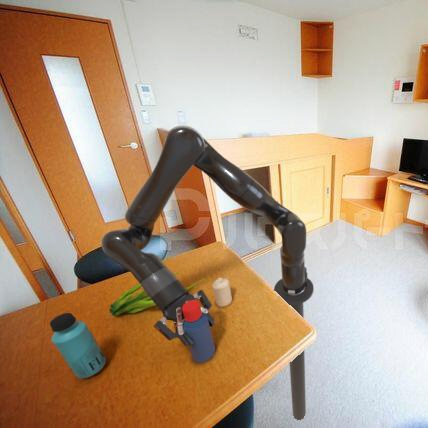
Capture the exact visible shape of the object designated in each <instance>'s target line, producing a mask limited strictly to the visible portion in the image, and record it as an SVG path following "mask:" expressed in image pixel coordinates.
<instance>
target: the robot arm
mask: <svg viewBox="0 0 428 428" xmlns="http://www.w3.org/2000/svg"><path fill="white" fill-rule="evenodd" d="M193 167H195V168H196V169H198V170H200V171H201V172H203V173H204V174H205V175H206V176H207V177H208V178H209V179H211V180H212V182H213V183H214V184H215V185H216V186H217V187H218V188H219V189H220V190H221V191H222V192H223V193H224V194H225V195H226V196H228V197H229V199H231V200H232V201H234V202H235V203H237V204H238V205H239V206H240V207H242V208H243V209H245V210H247V211H249V212H251V213H253V214H256V215H258V216H261V217H263V218H264V219H265V220H267V221H268V222H269V223H270V224H272V225H273V227H274V228H275V229H276V230H277V231H278V233H279V234H280V236H281V247H280V248H279V252H280V253H279V255H280V267H281V279H282V284H283V287H282V288H283V292H284V293H285V294H287V295H289V296H296V295H299V294H301V293H303V292H304V290H305V287H307V278H308V271H307V267H306V265H305V250H306V248H307V227H306V224H305V222H304V221H303V220H302V219H301V218H300V216H298V215H297V214H296V213H294V212H293V211H291V210H290V209H288V208H287V207H285V206H283V205H282V204H281V203H279V202H278V201H277V200H276V199H275V198H274V196H272V195H271V194H270V192H269V191H268V190H266V188H265V187H264V186H263V185H261V184H260V183H259V182H258V181H257V180H256V179H254V178H253V177H252V176H251V175H249V174H248V173H247V172H246V171H244V170H243V169H241V168H240V167H239V166H237V165H236V164H235V163H233V162H231V161H230V160H229V159H227V158H225V157H224V156H223V155H222V154H221V153H220V152H219V151H217V150H216V149H215V148H214V146H212V144H210V142H209V141H208V140H206V138H204V136H203V135H202V134H201V133H200V132H199V131H198V130H197V129H196V128H194V127H192V126H189V125H185V124H184V125H181V124H180V125H176V126H173V127H172V128H171V129H170V130H168V132H167V133H166V134H165V137H164V143H163V147H162V149H161V153H160V156H159V157H158V160H157V162H156V165H155V166H154V168H153V170H152V172H151V174H150V175H149V176H148V178H147V179H146V181H145V182H144V183H143V185H142V186H141V187H140V189H139V190H138V192H137V193H136V195H135V196H134V197H133V200H132V201H131V203H130V204H129V206H128V207H127V209H126V212H125V213H124V220H125V221H126V222H127V223H128V224H129V226H128V227H127V228H122V229H114V230H110V231H108V232H106V233H105V234H103V236H102V238H101V243H100V245H101V249H102V251H103V253H104V254H105V255H106V256H107V257H108V258H109V259H110V260H111V261H114V262H115V263H116V264H117V265H119V266H120V267H122V268H123V269H125V270H127V271H128V272H130V273H131V274H132V275H133V277H134V278H135V279H136V281H137V282H138V284H139V283H140V284H141V286H142V287H141V288H142V290H143V289H144V291H145V292H146V293H147V294H146V295H148V297H150V298H151V299H152V301H153V302H154V303H155V304H156V305H155V306H156V307H157V308H158V309H159V311H161V313H162V318H160V320H158V321H156V322H155V323H154V325H153V328H155V329H156V330H157V331H158V332H159V333H160V334H161V335H162V336H163V337H165V339H167V340H168V341H172V340H174V339H179V341H180V342H181V343H182V344H183V345H184V346H185V347H189V346H191V345H192V344H194V342H193V341H192V340H191V339H190V337H189V336H188V335H187V334H186V333H184V330H183V322H184V320H185V317H184V314H183V311H182V307H183V305H184V304H185V303H186V302H188V301H190V300H197V301H199V303H200V307H201V311H202V312H203V313H205V314H206V315H207V317H208V321H209V325H210V328H212V327H213V326H214V325H215V318H213V316H212V315H211V313H210V312H209V311H210V309H211V308H212V303H211V301H210V300H209V298H208V296H207V295H206V293H205V292H204V290H203V289H200V290H198V291H197V292H195V293H194V294H192V293H190V292H189V290H186V288H187V287H185V286H184V285H183V284H182V282H181V281H180V280H179V278H178V277H177V275H174V274H175V273H173V272H172V270H171V269H169V268H168V267H167V266H166V264H165V263H164V261H162V259H161V258H160V257H159V256H158V255H157V254H156V253H154V252H144V251H142V250H144V249H145V248H146V247H147V246H148V245H149V243H150V241H151V238H152V237H153V232H154V229H155V224H156V222H157V221H158V219H159V218H160V216H161V214H162V212H163V211H164V209H165V208H166V206H167V204H168V203H169V201H170V198H171V197H172V195H173V193H174V191H175V189H176V188H177V187H178V185H179V184H180V182H181V181H182V180H183V178H184V176H186V174H187V173H188V172H189V171H190V170H191V169H192V168H193ZM201 305H202V306H201ZM167 321H171V322H173V328H174V331H173V330H172V329H171V328H169V327H168V325H167V324H168V323H167Z"/></svg>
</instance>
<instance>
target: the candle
mask: <svg viewBox="0 0 428 428" xmlns="http://www.w3.org/2000/svg"><path fill="white" fill-rule="evenodd" d="M212 290H213V294H214V298H215V303H216V305H217V306H218V307H221V308H222V307H227V306H229V305H231V303H232V301H233V296H232V291H231V285H230V280H229V279H227V278H225V277H218V278H217V279H216V280H214V281H213V282H212Z"/></svg>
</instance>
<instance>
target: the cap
mask: <svg viewBox="0 0 428 428" xmlns="http://www.w3.org/2000/svg"><path fill="white" fill-rule="evenodd" d="M200 306H201V303H200V301H199V300H197V299H195V300H190V301H188V302H186V303H185V304H184V305H183V307H182V311H183V314H184V317H185V319H186V321H188V322H193V321H195V320H197V319H199V318H200V316H201V314H202V311H201V307H202V306H201V307H200ZM185 319H184V320H185Z"/></svg>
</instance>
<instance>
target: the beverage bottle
mask: <svg viewBox="0 0 428 428" xmlns="http://www.w3.org/2000/svg"><path fill="white" fill-rule="evenodd" d="M49 326H50V328H51V329H50V330H52V332H53V334H52V336H51V340H50V341H51V342H52V344H53V345H54V346H55V347H56V349H57V350H58V352H59V354H60V355H61V356H62V357H63V359H64V360H65V361H64V362H65V363H66V365H67V366H68V368H69V369H70V370H71V372H72V373H73V375H74V377H77V378H78V379H88V378H89V377H92V376H95V375H96V374H97V373H99V372H100V371H101V370H102V369H103V368H104V366H105V364H106V363H107V362H106V355H105V354H104V351H103V349H102V348H101V346H100V345H99V343H98V341H96V340H97V339H96V338H95V336H94V335H93V333H92V331H91V329H90V328H89V327H88V326H87V323H86V322H85V321H82V320H77V318H76V317H75V316H74V315H73V313H72V312H64V313H61V314H59V315H57V316H55V317H54V318H53V319H51V321H50V322H49Z"/></svg>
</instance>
